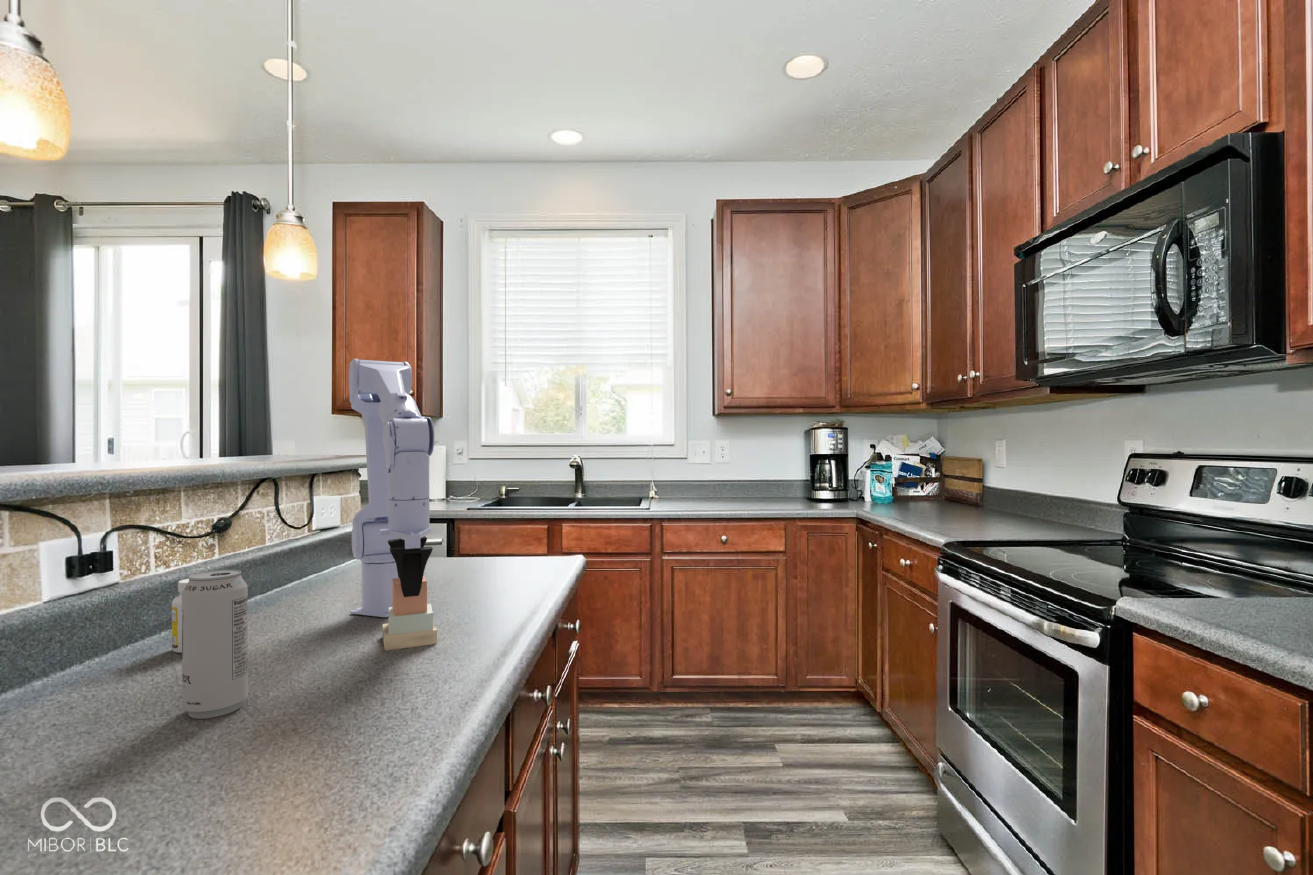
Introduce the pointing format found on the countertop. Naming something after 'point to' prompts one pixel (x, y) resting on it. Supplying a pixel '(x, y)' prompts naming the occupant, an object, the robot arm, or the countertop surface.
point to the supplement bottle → (177, 618)
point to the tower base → (408, 638)
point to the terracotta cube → (408, 599)
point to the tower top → (410, 621)
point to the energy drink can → (214, 643)
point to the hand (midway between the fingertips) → (409, 590)
